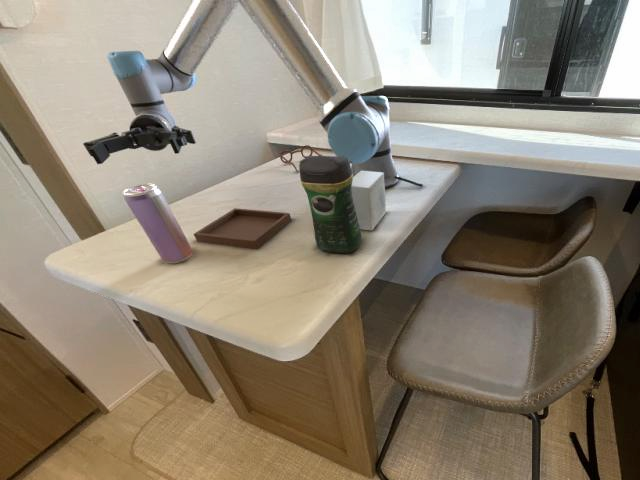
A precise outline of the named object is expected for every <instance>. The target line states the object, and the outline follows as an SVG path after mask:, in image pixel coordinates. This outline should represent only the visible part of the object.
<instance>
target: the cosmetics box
mask: <svg viewBox="0 0 640 480" xmlns="http://www.w3.org/2000/svg"><path fill="white" fill-rule="evenodd" d="M352 197H353V202H354V206H355V211H356V215H357V219H358V223H359V227H360V230H362V231H363V230H364V231H373V230H374V229H375V227H376V226H377V225H378V224H379V222H380V221H381V220H382V219H383V217H384V216H385V215H386V214H387V205H386V188H385V185H384V173H382V172H371V171H360V172H359V173H358V174H356V175H355V176H354V177H353V182H352Z"/></svg>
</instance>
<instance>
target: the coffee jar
mask: <svg viewBox="0 0 640 480" xmlns="http://www.w3.org/2000/svg"><path fill="white" fill-rule="evenodd" d="M308 156H309V155H308ZM351 166H352V165H351V163H350V162H349V160H348V158H347V157H338V156H336V155H335V156H334V155H333V156H332V155H323V156H319V155H312V156H309V157H307V158H303V159H301V160H300V161H299V166H298V168H299V169H298V172H299V178H300V183H301V185H302V188H303V190H304V192H305V193H306V196H307V199H308V204H309V208H310V214H311V219H312V227H313V234H314V239H315V245H316V248H317V249H318V250H319V251H321V252H326V253H333V254H349V253H351V252H353V251H355V250H357V249H358V248H359V247H360V245H361V244H362V241H363V236H362V230H361V229H360V227H359V223H358V219H357V215H356V211H355V206H354V202H353V197H352V182H353V174H352V169H351Z"/></svg>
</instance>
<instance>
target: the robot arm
mask: <svg viewBox="0 0 640 480" xmlns="http://www.w3.org/2000/svg"><path fill="white" fill-rule="evenodd" d="M239 5H240V6H241V7H242V9H243V10H244V11H245V12H246V14H247V15H248V17H249V18H250V19H251V21H252V22H253V23H254V24H255V27H256V28H257V29H258V30H259V31H260V33H261V34H262V36H263V37H264V38H265V40H266V41H267V42H268V44H269V45H270V46H271V48H272V49H273V51H274V52H275V53H276V55H277V56H278V58H279V59H280V60H281V61H282V63H283V64H284V65H285V68H287V70H288V71H289V72H290V74H291V75H292V77H293V78H294V79H295V80H296V81H297V83H298V85H299V86H300V88H301V89H302V90H303V92H304V93H305V95H306V96H307V97H308V99H309V100H310V101H311V102H312V104H313V106H315V108H316V109H317V111H318V122H319V124H320V125H321V127H322V128H323V129H324V131H325V132H326V134H327V142H328V146H329V148H330V149H331V151H332V153H333V154H334V155H335V156H338V157H347V158H348V160H349V162H350V166H351V169H352V174H353V177H354V176H355V175H356V174H358V173H359V172H360V171H371V172H382V173H384V185H385V189H386V188H389V187H392V186H395V185H396V184H397V183H398V182H399V181H403V182H405V183H408V184H411V185H414V186H416V187H420V188H421V187H424V184H423V183H418V182H416V181H412V180H411V179H407V178H404V177H402V176H401V177H400V176H399V174H398V169H397V166H396V164H395V162H394V159H393V156H392V155H393V154H392V147H391V146H392V145H391V144H392V143H391V129H390V128H391V127H390V125H391V124H390V107H389V100H388V98H387V97H386V96H384V95H367V96H366V95H365V96H364V95H363V96H361V95H360V93H359V91H358V90H357V89H356V88H353V87H352V88H351V87H349V86H346V84H345V82H344V81H343V79H342V78H341V77H340V75H339V73H338V72H337V70H336V69H335V67H334V66H333V64H332V63H331V61H330V59H328V57H327V55H326V54H325V52H324V51H323V49H322V48H321V46H320V44H318V42H317V41H316V39H315V38H314V36H313V35H312V33H311V31H310V30H309V29H308V27H307V25H306V23H305V22H304V21H303V20H302V18H301V17H300V15H299V13H298V12H297V10H296V9H295V7H294V6H293V5H292V3H291V1H290V0H190V1H189V2H188V4H187V6H186V8H185V10H184V12H183V14H181V17H180V20H179V21H178V23H177V24H176V26H175V28H174V30H173V32H172V33H171V35H170V37H169V39H168V41H167V43H166V44H165V46H164V48H163V50H162V52H161V53H160V55H159V57H158V58H152V59H151V58H150V59H148V58H147V59H146V58H145V56H144V54H143V53H142V52H141V51H140V50H120V51H109V52H107V55H106V57H107V59H108V62H109V65H110V67H111V69H112V72H113V75H114V76H115V77H116V79H117V82H118V83H119V85H120V87H121V89H122V91H123V93H124V95H125V97H126V99H127V101H128V103H129V105H130V107H131V109H132V111H133V113H134V115H135V117H134V118H133V119H132V120H131V122H130V123H129V130H126V131H123V132H121V134H119V133H118V132H112V133H110V134H108V135H105V136H103V137H99V138H96V139H93V140H90V141H85V142H83V143H82V144H83V147H84V148H85V149H86V151H87V153H88V155H89V156H90V157H93V159H94V161H95V163H96V164H97V165H103V164H104V163H105V161H106V160H108V159H109V157H111V154H114V153H117V152H121V151H124V150H137V149H141V148H143V149H145V150H147V151H148V150H149V151H152V152H158V151H162V150H164V149H166V148H167V147H168V145H170V146H171V148H172V150H173V152H174V155H178V154H180V153H181V149H182V147H184V146H187V145H188V144H191V145H195V144H197V141H196V138H195V136H194V133H193V132H192V130H190V129H185V128H182V127H179V125H178V126H177V124H176V121H175V118H174V117H173V115H172V114H171V113H170V112H169V109H168V107H167V106H166V103H165V101H164V98H163V96H162V95H164V94H171V93H175V92H176V93H177V92H184V91H187V90H189V89H192V88H193V87H194V86H195V84H196V74H195V73H196V72H197V69H198V68H199V67H200V65H201V63H202V62H203V60H204V59H205V57H206V56H207V54H208V53H209V51H210V49H212V47H213V45H214V43H215V42H216V40H217V39H218V38H219V35H220V34H221V32H222V31H223V29H224V28H225V27H226V25H227V23H228V22H229V21H230V19H231V17H232V16H233V14H234V12H235V11H236V10H237V8H238V7H239Z"/></svg>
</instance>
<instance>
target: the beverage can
mask: <svg viewBox="0 0 640 480" xmlns="http://www.w3.org/2000/svg"><path fill="white" fill-rule="evenodd" d="M122 196H123V198H124V201H125V202H126V204H127V205H128V207H129V209H130V211H131V212H132V214H133V215H134V218H136V220H137V222H138V223H139V225H140V227H141V228H142V230H143V232H144V233H145V235H146V236H147V238H148V240H149V241H150V243H151V245H152V246H153V248H154V249H155V251H156V252H157V254H158V256H159V257H160V259H161V260H162V261H163V262H164V263H167V264H171V265H172V264H177V263H178V264H179V263H183V262H184V261H187V260H189V259H190V258H191V257H192V255H193V251H194V250H193V248H192V246H191V243H190V242H189V240H188V238H187V237H186V235H185V233H184V231H183V230H182V228H181V226H180V223H179V222H178V220H177V218H176V217H175V215H174V213H173V211H172V209H171V206H170V205H169V203H168V201H167V199H166V197H165V196H164V194H163V192H162V190H161V189H160V188H159V187H158V185H157V184H156V183H143V184H142V183H141V184H138V185H137V184H136V185H134V186H131V187H128V188H126V189H124V190H123V191H122Z"/></svg>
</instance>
